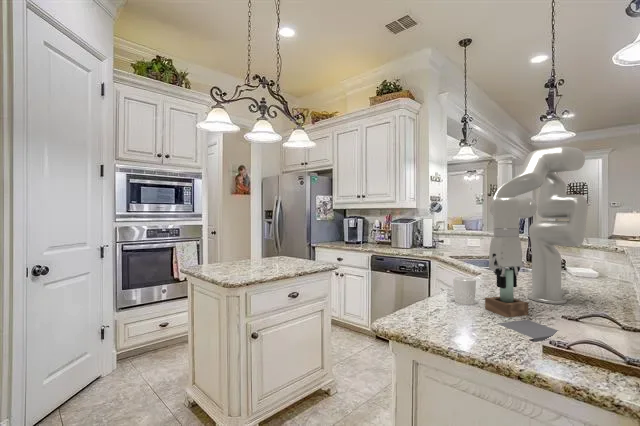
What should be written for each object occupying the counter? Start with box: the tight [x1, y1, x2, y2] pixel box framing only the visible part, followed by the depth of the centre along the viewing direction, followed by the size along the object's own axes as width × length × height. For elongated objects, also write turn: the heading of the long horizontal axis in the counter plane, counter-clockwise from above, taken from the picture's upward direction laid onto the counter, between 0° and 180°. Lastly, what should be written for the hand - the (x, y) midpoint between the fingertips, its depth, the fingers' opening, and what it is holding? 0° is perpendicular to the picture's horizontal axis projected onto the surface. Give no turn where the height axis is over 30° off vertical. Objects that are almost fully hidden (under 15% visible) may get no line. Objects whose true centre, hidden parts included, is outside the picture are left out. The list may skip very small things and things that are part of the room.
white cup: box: [452, 276, 477, 306], centre depth 119 cm, size 8×8×10 cm
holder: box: [484, 296, 529, 318], centre depth 107 cm, size 9×9×5 cm
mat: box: [496, 319, 559, 343], centre depth 92 cm, size 12×12×1 cm
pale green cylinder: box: [499, 268, 515, 303], centre depth 107 cm, size 4×4×11 cm
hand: (506, 286), depth 107 cm, fingers closed on pale green cylinder, 4 cm apart
